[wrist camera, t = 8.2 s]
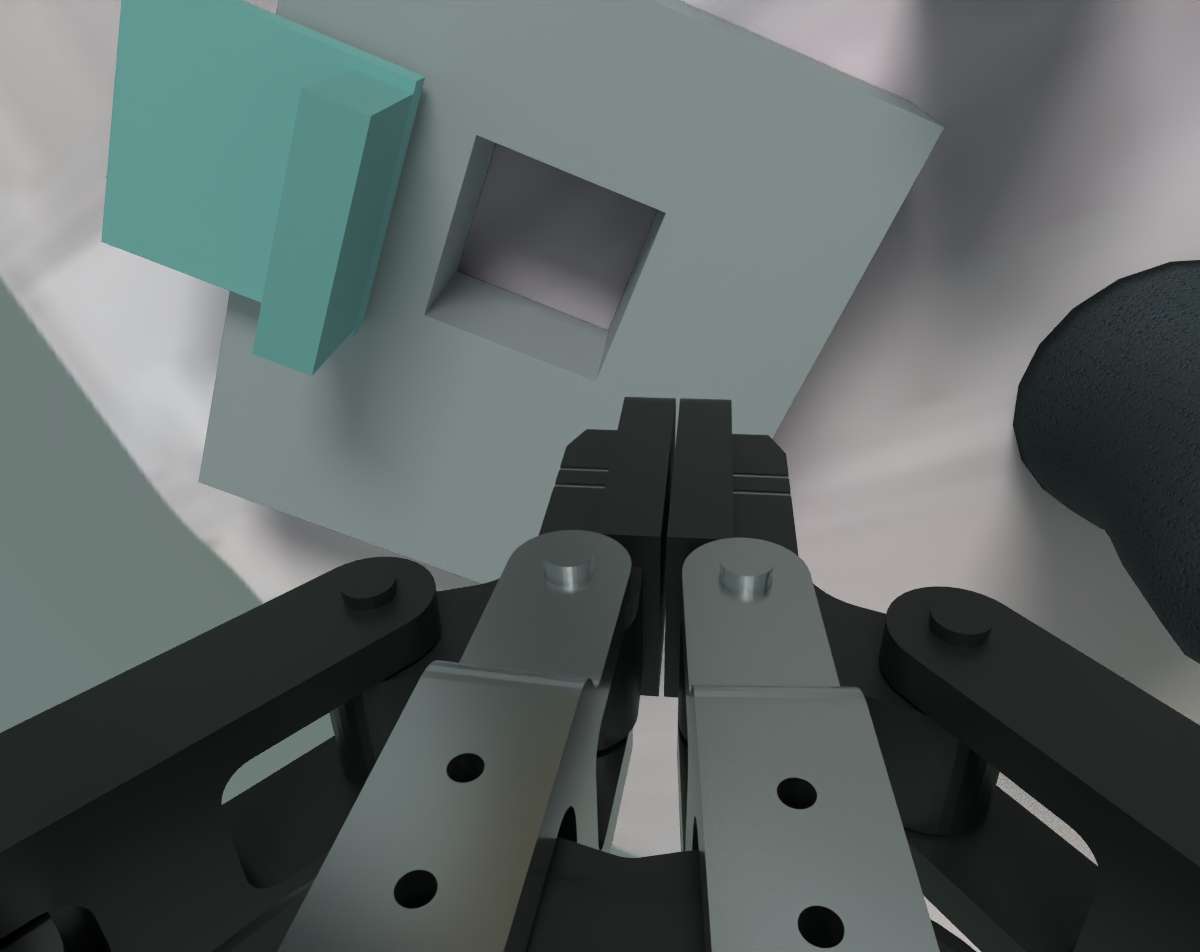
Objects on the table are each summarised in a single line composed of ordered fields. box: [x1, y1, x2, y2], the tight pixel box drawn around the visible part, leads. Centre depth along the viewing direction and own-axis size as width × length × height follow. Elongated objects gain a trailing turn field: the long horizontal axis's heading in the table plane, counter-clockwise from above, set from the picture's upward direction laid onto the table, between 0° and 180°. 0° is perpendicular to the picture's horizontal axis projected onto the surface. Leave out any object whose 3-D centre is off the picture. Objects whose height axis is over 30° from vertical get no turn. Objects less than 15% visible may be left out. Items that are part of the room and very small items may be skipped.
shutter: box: [102, 0, 425, 376], centre depth 22 cm, size 7×7×4 cm
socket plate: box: [199, 0, 945, 634], centre depth 27 cm, size 16×18×4 cm
